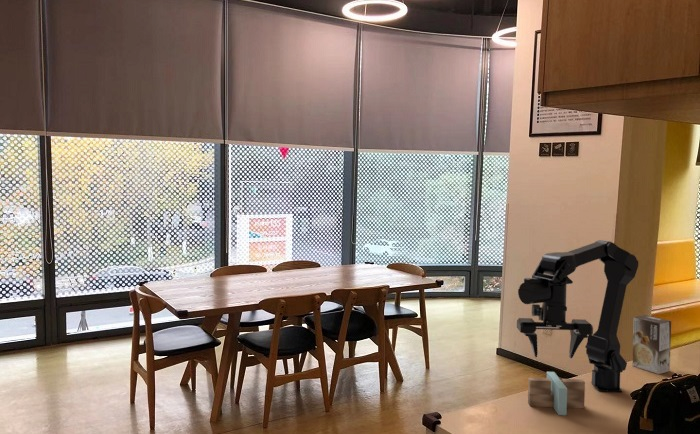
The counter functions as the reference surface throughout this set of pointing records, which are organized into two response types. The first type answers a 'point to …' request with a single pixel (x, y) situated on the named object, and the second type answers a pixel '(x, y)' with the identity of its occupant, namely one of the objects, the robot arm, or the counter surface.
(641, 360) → the coffee box
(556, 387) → the teal slotted plate
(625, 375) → the counter surface
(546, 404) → the walnut slotted plate
